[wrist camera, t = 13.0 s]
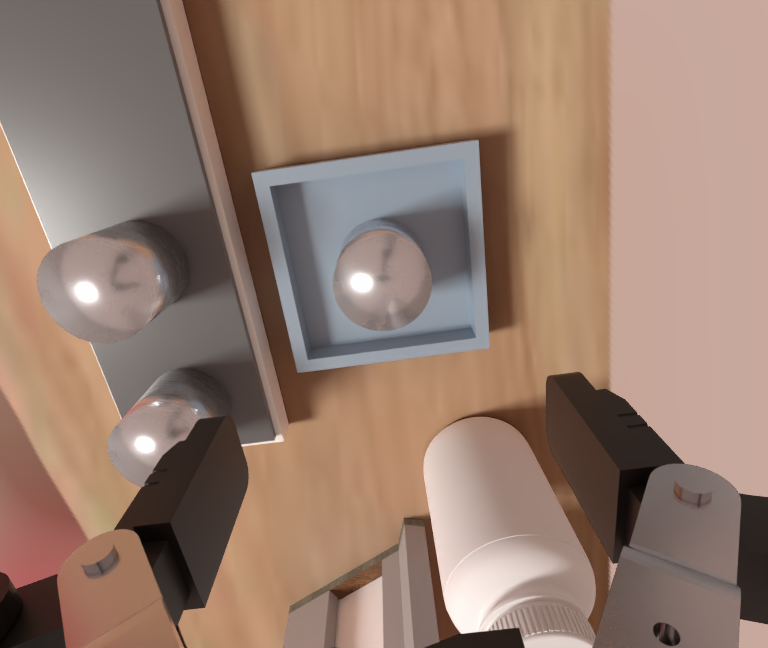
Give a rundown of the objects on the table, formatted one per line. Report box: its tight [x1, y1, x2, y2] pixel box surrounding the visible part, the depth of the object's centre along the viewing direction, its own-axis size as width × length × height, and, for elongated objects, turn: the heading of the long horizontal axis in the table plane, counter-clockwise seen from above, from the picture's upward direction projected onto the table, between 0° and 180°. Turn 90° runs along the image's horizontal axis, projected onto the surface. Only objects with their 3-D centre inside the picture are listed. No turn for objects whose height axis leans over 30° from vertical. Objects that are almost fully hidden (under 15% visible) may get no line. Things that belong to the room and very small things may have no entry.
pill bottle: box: [424, 417, 596, 648], centre depth 28 cm, size 8×8×15 cm
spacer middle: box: [37, 221, 189, 344], centre depth 24 cm, size 5×5×5 cm
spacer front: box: [333, 219, 432, 331], centre depth 26 cm, size 5×5×5 cm
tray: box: [251, 140, 490, 373], centre depth 28 cm, size 12×12×2 cm
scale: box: [0, 0, 289, 446], centre depth 25 cm, size 29×10×5 cm, turn 8°
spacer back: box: [108, 368, 231, 487], centre depth 27 cm, size 5×5×5 cm
